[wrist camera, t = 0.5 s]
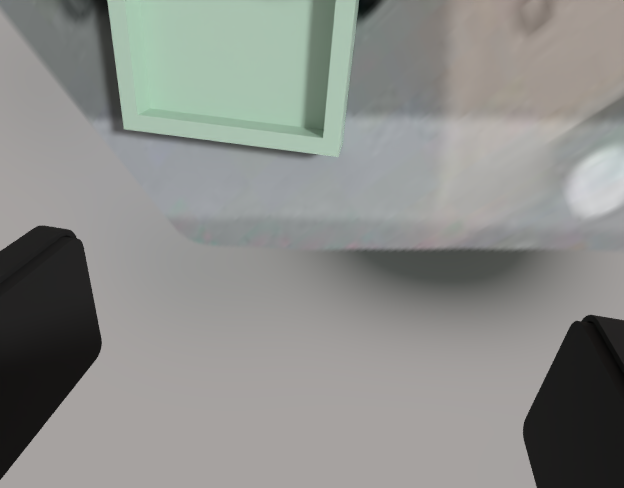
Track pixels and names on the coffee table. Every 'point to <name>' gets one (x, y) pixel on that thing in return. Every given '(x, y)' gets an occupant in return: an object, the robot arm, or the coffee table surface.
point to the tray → (236, 70)
